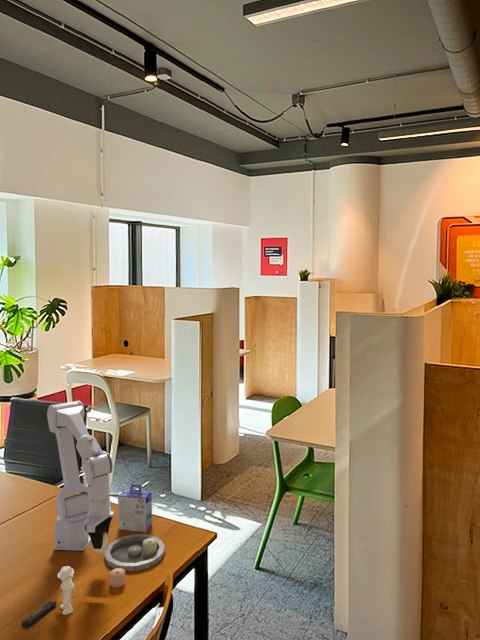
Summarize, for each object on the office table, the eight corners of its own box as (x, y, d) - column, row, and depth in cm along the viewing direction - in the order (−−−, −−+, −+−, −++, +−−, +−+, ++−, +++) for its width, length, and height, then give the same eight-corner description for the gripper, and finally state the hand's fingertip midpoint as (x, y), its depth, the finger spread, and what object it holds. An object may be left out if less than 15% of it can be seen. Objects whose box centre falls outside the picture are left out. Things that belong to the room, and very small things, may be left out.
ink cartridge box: (153, 526, 174) (152, 484, 172) (147, 535, 169) (146, 491, 167) (125, 523, 176) (124, 482, 174) (118, 532, 171) (116, 489, 169)
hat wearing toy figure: (78, 617, 130) (76, 571, 129) (61, 622, 128) (59, 576, 127) (72, 596, 138) (70, 553, 137) (56, 600, 136) (54, 557, 135)
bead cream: (91, 552, 146) (90, 538, 146) (96, 544, 150) (95, 531, 150) (105, 553, 146) (104, 539, 146) (109, 545, 150) (109, 531, 150)
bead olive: (141, 558, 154) (141, 545, 154) (144, 550, 158) (144, 537, 158) (155, 558, 154) (154, 545, 153) (158, 551, 158) (157, 538, 157)
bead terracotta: (108, 590, 141) (107, 576, 140) (112, 581, 145) (112, 567, 144) (122, 591, 140) (122, 577, 140) (127, 582, 144) (126, 568, 144)
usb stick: (50, 603, 136) (49, 598, 136) (57, 606, 135) (57, 601, 135) (20, 626, 127) (20, 621, 127) (28, 630, 126) (28, 624, 126)
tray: (97, 573, 148) (97, 564, 148) (115, 540, 165) (115, 533, 165) (157, 575, 147) (156, 567, 147) (169, 542, 164) (169, 535, 164)
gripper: (104, 510, 139) (105, 558, 141) (120, 486, 153) (122, 530, 155) (78, 509, 140) (80, 557, 141) (97, 485, 154) (98, 529, 156)
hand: (100, 543), depth 148 cm, fingers closed on bead cream, 4 cm apart
